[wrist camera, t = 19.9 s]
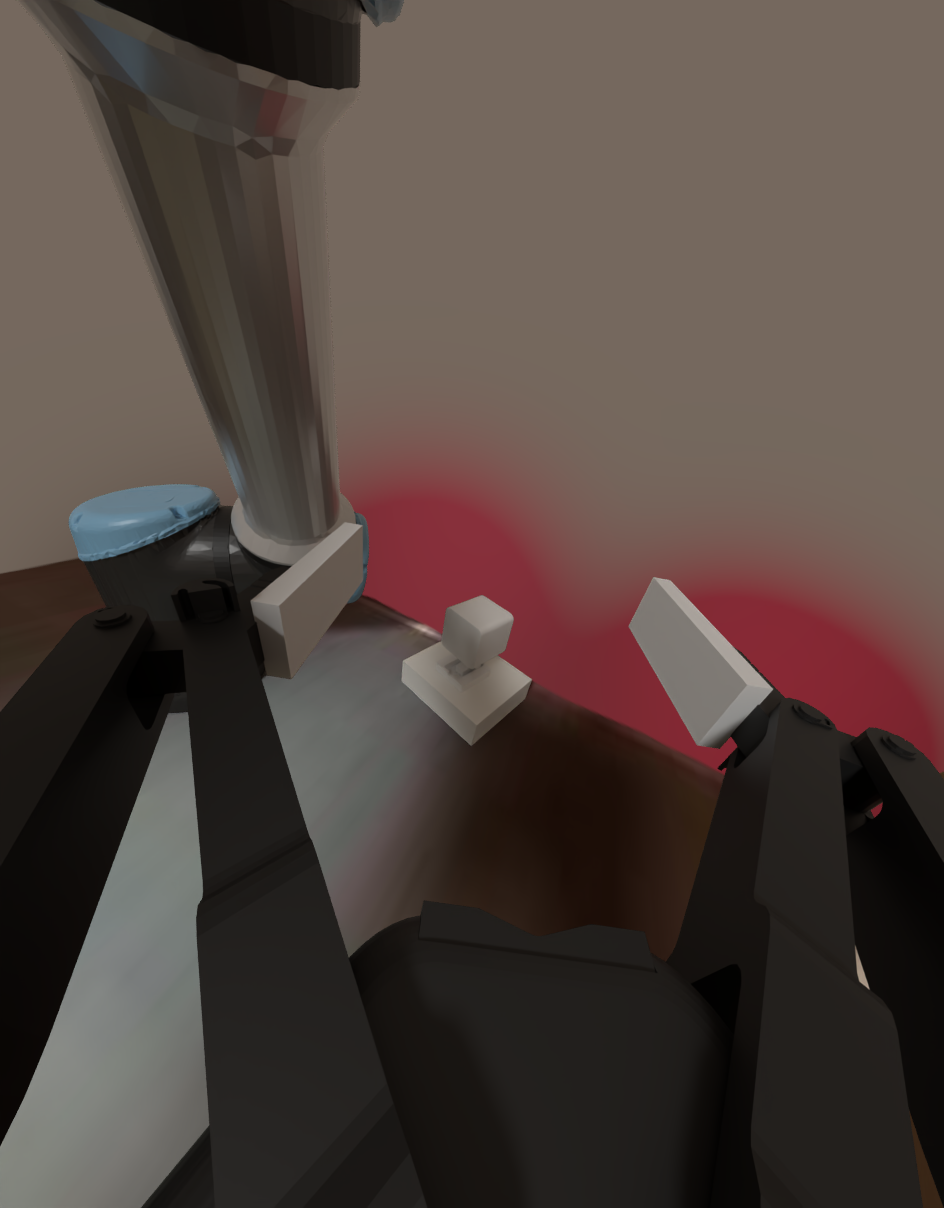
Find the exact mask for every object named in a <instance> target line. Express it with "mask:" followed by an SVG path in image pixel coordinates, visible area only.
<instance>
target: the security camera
mask: <svg viewBox="0 0 944 1208" xmlns="http://www.w3.org/2000/svg"><path fill="white" fill-rule="evenodd" d="M513 620H514V619H513V616H512V614H511V613H509V612H508V611H506V610H505V609H503V608H502V607H500V606H499V605H497V604H495V603H494V602H492V601H491V600H489V599H488V598H486V597H485V596H483V595H481V596H478V597H476V598H473V599H470V600H468V601H465V602H462V603H460V604H457V605H454V606H451V607H448V608H447V609H446V614H445V621H444V627H443V634H442V644H443V646H444V647H445V648H446V649H447V650H448V651H449V652H451V653H452V654H451V655H449V656H447V657H445V658H443V659H441V660H439V661H437V665H436V670H437V671H438V672H439V673H440V674H442V675H443V676H444V677H445V678H446V679H447V680H448V681H449V682H450V683H451V684H452V685H453V686H454V687H456V688H457V689H458V690H459V691H460V692H464V691H466V690H467V689H469V688H471V687H472V686H474V685H476V684H477V683H479V682H480V681H482V680H484V679H485V678H487V677H489V674H490V670H491V669H490V668H489V667H488V666H487V665H486V664H484V662H486V661H488V660H490V659H492V658H493V657H495V656H497V655H498V654H500V653H502V652H504V651H505V649H506V646H507V642H508V639H509V635H510V632H511V628H512V625H513ZM454 674H458V676H457V677H455V676H454Z"/></svg>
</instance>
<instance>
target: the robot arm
mask: <svg viewBox="0 0 944 1208" xmlns="http://www.w3.org/2000/svg"><path fill="white" fill-rule="evenodd" d="M16 1H17V2H18V3H19V4H20V5H21V6H22V7H23V8H24V9H25V10H26V12H27V13H28V14H29V15H30V16H31V17H32V18H33V19H34V20H35V21H36V22H37V23H38V24H39V26H40V27H41V28H42V30H43V31H44V32H45V34H46V35H47V36H48V38H49V39H50V40H51V42H52V43H53V44H54V46H55V47H56V48H57V50H58V51H59V52H60V54H61V55H62V57H63V59H64V62H65V64H66V67H67V70H68V72H69V75H70V77H71V80H72V82H73V84H74V87H75V89H76V92H77V94H78V97H79V100H80V102H81V104H82V107H83V109H84V112H85V114H86V117H87V119H88V122H89V124H90V127H91V129H92V132H93V134H94V137H95V139H96V142H97V144H98V147H99V149H100V152H101V154H102V157H103V159H104V162H105V164H106V167H107V169H108V172H109V174H110V177H111V179H112V182H113V184H114V187H115V189H116V192H117V194H118V197H119V199H120V202H121V204H122V207H123V209H124V212H125V214H126V217H127V219H128V221H129V224H130V226H131V229H132V231H133V234H134V236H135V239H136V242H137V244H138V247H139V249H140V251H141V254H142V256H143V259H144V261H145V264H146V266H147V269H148V271H149V274H150V276H151V279H152V281H153V284H154V286H155V289H156V291H157V294H158V296H159V299H160V301H161V304H162V306H163V309H164V311H165V314H166V316H167V319H168V321H169V324H170V326H171V329H172V331H173V334H174V336H175V339H176V341H177V344H178V346H179V349H180V351H181V353H182V356H183V359H184V361H185V364H186V366H187V369H188V371H189V373H190V376H191V378H192V381H193V383H194V386H195V388H196V391H197V394H198V396H199V399H200V401H201V404H202V406H203V409H204V411H205V414H206V416H207V418H208V421H209V424H210V426H211V428H212V431H213V433H214V436H215V438H216V441H217V443H218V446H219V448H220V451H221V453H222V456H223V458H224V461H225V463H226V466H227V468H228V471H229V473H230V476H231V478H232V481H233V483H234V486H235V488H236V491H237V493H238V496H239V497H238V499H237V500H236V502H235V504H234V506H222V505H220V500H219V498H218V497H217V496H216V494H215V492H214V491H212V490H211V489H209V488H206V487H199V486H197V485H187V484H186V485H185V484H170V485H158V486H146V487H139V488H132V489H127V490H122V491H117V492H113V493H109V494H105V495H102V496H99V497H96V498H93V499H91V500H88V501H86V502H84V503H82V504H81V505H79V506H78V507H77V508H76V509H74V510H73V512H72V513H71V515H70V517H69V527H70V530H71V533H72V536H73V538H74V541H75V544H76V547H77V550H78V556H79V558H80V560H82V561H83V562H84V564H85V566H86V568H87V570H88V572H89V574H90V576H91V577H92V579H93V581H94V583H95V585H96V587H97V589H98V591H99V593H100V595H101V597H102V599H103V601H104V603H105V605H106V607H105V608H104V609H103V608H102V609H99V610H96V611H94V612H92V613H89V614H87V615H85V616H83V617H82V618H81V619H79V620H78V621H77V622H76V623H75V624H74V625H73V626H72V628H71V629H70V630H69V631H68V632H67V633H66V635H65V636H64V637H63V638H62V639H61V641H60V642H59V643H58V644H57V645H56V647H55V648H54V649H53V650H52V651H51V652H50V654H49V655H48V656H47V657H46V658H45V660H44V661H43V662H42V663H41V664H40V666H39V667H38V668H37V669H36V670H35V671H34V673H33V674H32V675H31V676H30V677H29V679H28V680H27V681H26V682H25V683H24V685H23V686H22V687H21V688H20V689H19V690H18V692H17V693H16V694H15V695H14V696H13V698H12V699H11V700H10V701H9V702H8V704H7V705H6V706H5V707H4V708H3V709H2V711H1V712H0V1146H1V1144H2V1142H3V1140H4V1138H5V1135H6V1133H7V1131H8V1129H9V1127H10V1125H11V1123H12V1121H13V1119H14V1117H15V1115H16V1113H17V1111H18V1109H19V1107H20V1105H21V1103H22V1101H23V1099H24V1097H25V1094H26V1092H27V1089H28V1087H29V1085H30V1082H31V1080H32V1077H33V1075H34V1072H35V1070H36V1068H37V1065H38V1063H39V1060H40V1058H41V1055H42V1053H43V1051H44V1048H45V1046H46V1043H47V1041H48V1038H49V1036H50V1033H51V1030H52V1028H53V1025H54V1022H55V1019H56V1017H57V1014H58V1011H59V1009H60V1006H61V1003H62V1000H63V998H64V995H65V992H66V989H67V987H68V984H69V981H70V979H71V976H72V973H73V970H74V968H75V965H76V962H77V959H78V957H79V954H80V951H81V949H82V946H83V943H84V940H85V938H86V935H87V932H88V930H89V927H90V924H91V921H92V919H93V916H94V913H95V910H96V908H97V905H98V902H99V900H100V897H101V894H102V891H103V889H104V886H105V883H106V881H107V878H108V875H109V872H110V870H111V867H112V864H113V861H114V859H115V856H116V853H117V851H118V848H119V845H120V842H121V840H122V837H123V834H124V831H125V829H126V826H127V823H128V821H129V818H130V815H131V812H132V810H133V807H134V804H135V802H136V799H137V796H138V793H139V791H140V788H141V785H142V782H143V780H144V777H145V774H146V772H147V769H148V766H149V763H150V761H151V758H152V755H153V753H154V750H155V747H156V744H157V742H158V739H159V736H160V733H161V731H162V728H163V725H164V723H165V720H166V717H167V714H168V713H179V712H188V715H189V727H190V739H191V750H192V762H193V774H194V785H195V797H196V808H197V820H198V832H199V843H200V855H201V866H202V878H203V898H202V900H201V901H200V903H199V905H198V908H197V917H196V926H197V948H198V963H199V978H200V992H201V1007H202V1022H203V1036H204V1051H205V1066H206V1080H207V1095H208V1110H209V1124H210V1125H209V1126H208V1128H207V1129H206V1130H205V1131H204V1132H203V1134H202V1135H201V1136H200V1137H199V1138H198V1140H197V1141H196V1142H195V1143H194V1145H193V1146H192V1147H191V1148H190V1149H189V1151H188V1152H187V1153H186V1154H185V1155H184V1157H183V1158H182V1159H181V1160H180V1161H179V1163H178V1164H177V1165H176V1166H175V1167H174V1169H173V1170H172V1171H171V1172H170V1173H169V1175H168V1176H167V1177H166V1178H165V1179H164V1181H163V1182H162V1183H161V1184H160V1185H159V1187H158V1188H157V1189H156V1190H155V1191H154V1193H153V1194H152V1195H151V1196H150V1197H149V1199H148V1200H147V1201H146V1202H145V1204H144V1205H143V1206H142V1207H141V1208H923V1205H922V1198H921V1191H920V1184H919V1177H918V1170H917V1163H916V1156H915V1149H914V1142H913V1135H912V1129H911V1122H910V1115H909V1110H910V1113H911V1116H912V1119H913V1122H914V1125H915V1128H916V1131H917V1135H918V1138H919V1141H920V1144H921V1147H922V1149H923V1152H924V1155H925V1158H926V1160H927V1163H928V1166H929V1169H930V1171H931V1174H932V1177H933V1180H934V1182H935V1185H936V1188H937V1191H938V1193H939V1196H940V1199H941V1201H942V1204H943V1207H944V779H943V778H942V776H941V775H940V774H939V772H938V771H937V770H936V768H935V767H934V766H933V764H932V763H931V761H930V760H929V759H927V757H926V756H925V755H924V754H923V753H922V752H920V751H919V750H918V749H916V748H915V747H914V745H913V744H911V743H910V742H908V741H905V740H904V739H903V738H901V737H900V736H897V735H894V734H892V733H889V732H887V731H884V730H881V729H878V728H868V729H867V730H865V731H864V732H863V733H862V734H860V735H859V736H858V737H854V736H851V735H849V734H846V733H843V732H840V731H838V730H837V729H836V727H835V725H834V724H833V723H832V721H831V720H830V719H829V718H828V717H826V716H825V715H824V714H823V713H821V712H820V711H819V710H817V709H815V708H814V707H812V706H810V705H808V704H806V703H804V702H801V701H799V700H796V699H792V698H785V697H784V696H783V695H782V694H781V693H780V692H779V691H778V690H777V689H776V688H775V687H774V686H773V685H772V684H771V683H770V682H769V681H768V680H767V679H766V677H764V676H763V674H762V673H760V672H759V670H758V669H757V668H756V667H755V666H754V665H753V664H751V662H750V661H749V660H748V659H747V658H746V657H745V656H744V655H743V653H742V652H740V651H739V650H737V649H736V648H735V647H733V646H732V645H731V644H730V643H729V642H728V641H727V640H726V639H725V638H724V637H723V636H722V635H721V634H720V633H719V631H718V630H717V629H716V628H715V627H714V626H713V625H712V624H711V623H710V622H709V621H708V620H707V619H706V618H705V617H704V616H703V615H702V614H701V612H700V611H698V609H697V608H696V607H695V606H694V605H693V604H692V603H691V602H690V601H689V600H688V599H687V598H686V597H685V596H684V594H683V593H682V592H681V591H680V590H679V589H678V588H677V587H676V586H675V585H674V584H673V583H672V582H671V581H670V580H666V579H660V578H655V577H654V578H653V579H652V581H651V583H650V585H649V587H648V589H647V592H646V593H645V595H644V597H643V599H642V601H641V603H640V605H639V607H638V609H637V611H636V613H635V615H634V617H633V619H632V621H631V623H630V625H629V628H630V630H631V631H632V633H633V634H634V637H635V638H636V640H637V642H638V644H639V645H640V647H641V649H642V651H643V652H644V654H645V656H646V657H647V659H648V661H649V663H650V664H651V666H652V668H653V670H654V671H655V673H656V675H657V677H658V678H659V680H660V682H661V683H662V685H663V687H664V689H665V690H666V692H667V694H668V696H669V697H670V699H671V701H672V703H673V704H674V706H675V708H676V710H677V711H678V713H679V715H680V716H681V718H682V720H683V722H684V723H685V725H686V727H687V729H688V730H689V732H690V734H691V736H692V737H693V739H694V741H695V742H696V744H697V745H700V746H706V747H712V748H718V749H720V748H721V747H722V745H723V744H724V743H725V742H726V741H727V740H728V739H729V738H730V737H732V739H733V740H734V741H735V743H736V744H737V746H738V747H737V748H736V749H735V750H734V751H733V752H732V753H731V754H730V755H729V756H728V758H727V759H726V760H725V761H724V762H723V763H722V764H721V765H720V766H719V767H718V769H719V770H721V771H722V770H723V769H724V768H727V769H726V773H725V776H724V780H723V783H722V787H721V790H720V794H719V797H718V801H717V804H716V808H715V811H714V815H713V818H712V822H711V825H710V829H709V832H708V836H707V839H706V843H705V846H704V850H703V853H702V857H701V860H700V864H699V867H698V871H697V874H696V878H695V881H694V885H693V888H692V892H691V895H690V899H689V902H688V906H687V909H686V913H685V916H684V920H683V924H682V927H681V931H680V934H679V938H678V941H677V944H676V946H675V948H674V950H673V952H672V954H671V955H670V957H669V958H668V960H667V961H666V962H664V961H663V960H661V959H660V958H658V957H657V956H655V955H654V954H652V953H650V950H649V946H648V943H647V939H646V936H645V932H643V931H636V930H628V929H621V928H614V927H607V926H600V925H593V924H590V925H586V926H582V927H578V928H574V929H570V930H565V931H561V932H557V933H553V934H549V935H545V936H534V935H531V934H529V933H527V932H525V931H523V930H521V929H519V928H517V927H515V926H513V925H511V924H509V923H507V922H505V921H503V920H501V919H499V918H497V917H495V916H493V915H491V914H489V913H487V912H485V911H483V910H481V909H479V908H473V907H466V906H459V905H452V904H445V903H438V902H431V901H424V902H423V906H422V911H421V915H420V916H416V917H411V918H407V919H404V920H402V921H399V922H397V923H394V924H392V925H390V926H388V927H387V928H385V929H383V930H381V931H380V932H378V933H377V934H375V935H374V936H373V937H372V938H370V939H369V940H368V941H366V942H365V943H364V944H363V945H362V946H361V947H360V948H359V949H357V950H356V951H355V952H354V953H353V954H352V955H351V956H350V957H349V958H348V954H347V951H346V948H345V945H344V941H343V938H342V935H341V932H340V928H339V925H338V922H337V919H336V916H335V912H334V909H333V906H332V903H331V899H330V896H329V893H328V890H327V886H326V883H325V880H324V877H323V873H322V870H321V867H320V864H319V860H318V857H317V854H316V851H315V848H314V845H313V842H312V840H311V838H310V836H309V834H308V831H307V827H306V824H305V821H304V818H303V814H302V811H301V808H300V805H299V801H298V798H297V795H296V791H295V788H294V785H293V782H292V778H291V775H290V772H289V768H288V765H287V762H286V759H285V755H284V752H283V749H282V745H281V742H280V739H279V735H278V732H277V729H276V726H275V722H274V719H273V716H272V712H271V709H270V706H269V703H268V699H267V696H266V693H265V689H264V686H263V683H262V680H261V675H262V674H263V672H264V671H265V670H266V674H267V676H274V677H280V678H286V679H292V678H293V677H294V675H295V674H296V672H297V671H298V670H299V668H300V667H301V666H302V664H303V663H304V661H305V660H306V659H307V657H308V656H309V654H310V653H311V652H312V650H313V649H314V648H315V646H316V645H317V643H318V642H319V641H320V639H321V638H322V637H323V635H324V634H325V632H326V631H327V630H328V628H329V627H330V625H331V624H332V623H333V621H334V620H335V619H336V617H337V616H338V614H339V613H340V612H341V610H342V609H343V608H344V606H345V605H346V603H352V602H355V601H356V600H358V599H359V598H360V597H361V595H362V593H363V590H364V587H365V583H366V578H367V563H368V558H369V536H368V527H367V522H366V519H365V518H364V516H363V515H361V514H359V513H355V512H354V511H353V508H352V506H351V504H350V503H349V501H348V500H347V499H346V498H345V496H344V495H342V494H341V493H340V489H339V488H340V487H339V467H338V446H337V427H336V405H335V384H334V362H333V341H332V320H331V300H330V299H331V298H330V277H329V259H328V258H329V255H328V235H327V213H326V192H325V172H324V171H325V170H324V151H323V150H324V149H323V146H324V144H325V141H326V139H327V136H328V134H329V132H330V131H331V130H332V129H333V128H334V127H335V125H336V124H337V123H338V122H339V121H340V119H341V118H342V117H343V116H344V115H345V114H346V113H347V111H348V110H349V109H350V108H351V107H352V105H353V104H354V103H355V102H356V101H357V100H358V98H359V92H360V20H361V14H366V15H367V16H368V17H369V18H370V20H371V21H372V22H373V24H374V25H375V26H376V27H377V26H379V25H380V24H381V23H382V22H393V21H395V20H396V18H397V17H398V16H399V15H400V12H401V9H402V6H403V3H404V0H16ZM882 802H883V805H882V810H881V812H880V813H879V814H878V815H877V816H876V817H875V818H874V816H873V814H872V812H871V809H873V808H874V807H876V806H877V805H879V804H881V803H882ZM855 946H856V949H857V952H858V955H859V959H860V962H861V965H862V968H863V971H864V974H865V977H866V980H867V983H868V986H869V989H870V990H869V989H868V988H867V987H866V986H864V985H863V984H862V983H861V982H859V978H858V974H857V964H856V952H855ZM908 1107H909V1108H908Z"/></svg>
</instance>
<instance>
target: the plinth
mask: <svg viewBox="0 0 944 1208" xmlns="http://www.w3.org/2000/svg"><path fill="white" fill-rule="evenodd" d="M451 654H452V653H451V652H449V651H448V650H447V649H446V648H445V647H444V646H443V644H442V641H440V642H438V643H437V644H435V645H433V646H431V647H429V648H427V649H425V650H423V651H421V652H419V653H417V654H415V655H413V656H411V657H409V658H407V659H405V660H403V668H402V682H403V683H404V684H405V685H406V686H407V687H408V688H409V689H411V690H412V691H413V692H414V693H415V694H416V695H417V696H418V697H419V698H420V699H421V700H422V701H423V702H424V703H426V704H427V705H428V706H429V707H430V708H431V709H432V710H433V711H434V712H435V713H436V714H437V715H438V716H439V717H441V718H442V719H443V720H444V721H445V722H446V723H447V724H448V725H449V726H450V727H451V728H452V729H453V730H454V731H456V732H457V733H458V734H459V735H460V736H461V737H462V738H463V739H464V740H465V741H466V742H467V743H468V744H470V745H471V746H472V745H473V744H474V743H475V742H477V741H478V740H479V739H480V738H481V737H482V736H483V735H485V734H486V733H487V732H488V731H489V730H490V729H491V728H492V727H494V726H495V725H496V724H497V723H498V722H499V721H500V720H502V719H503V718H504V717H505V716H506V715H507V714H508V713H510V712H511V711H512V710H513V709H514V708H515V707H516V706H517V705H519V704H520V703H521V702H522V701H523V700H524V699H525V698H526V695H527V692H528V689H529V687H530V684H531V681H532V679H531V678H529V677H528V676H526V675H525V674H523V673H522V672H521V671H519V670H518V669H516V668H515V667H514V666H512V665H511V664H509V663H508V662H506V661H505V660H504V659H502V658H501V657H499V656H498V655H497V656H495V657H493V658H492V659H490V660H488V661H486V662H484V664H486V665H487V666H488V667H489V668H490V669H491V670H490V674H489V677H487V678H485V679H484V680H482V681H480V682H479V683H477V684H476V685H474V686H472V687H471V688H469V689H467V690H466V691H464V692H460V691H459V690H458V689H457V688H456V687H454V686H453V685H452V684H451V683H450V682H449V681H448V680H447V679H446V678H445V677H444V676H443V675H442V674H440V673H439V672H438V671H437V670H436V665H437V661H439V660H441V659H443V658H445V657H447V656H449V655H451ZM454 676H455V677H457V676H458V674H454Z"/></svg>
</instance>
